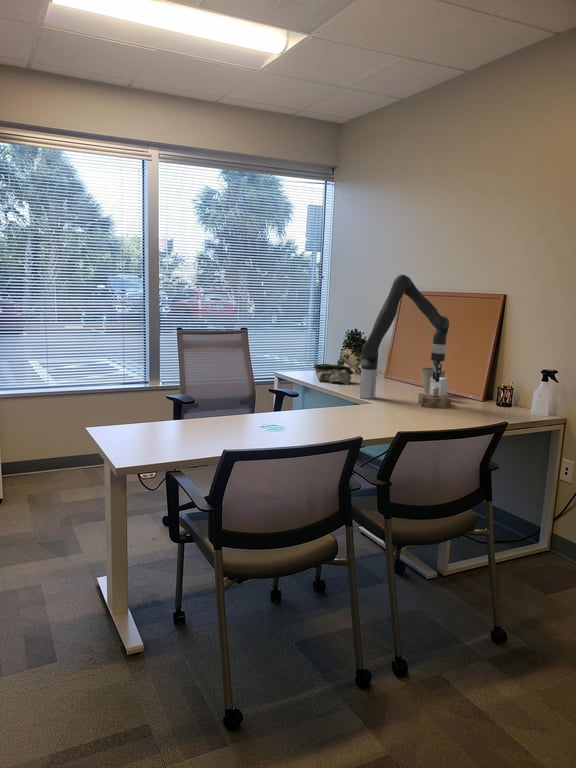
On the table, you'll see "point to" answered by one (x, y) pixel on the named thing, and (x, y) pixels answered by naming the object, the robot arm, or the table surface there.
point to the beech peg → (435, 392)
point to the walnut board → (434, 401)
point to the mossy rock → (333, 373)
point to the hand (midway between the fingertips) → (435, 380)
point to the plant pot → (429, 377)
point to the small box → (439, 385)
